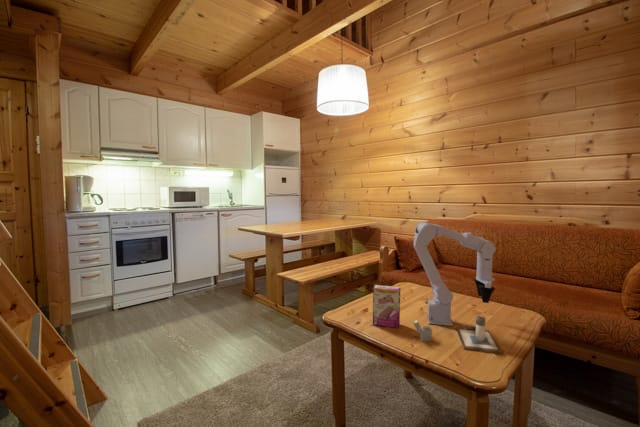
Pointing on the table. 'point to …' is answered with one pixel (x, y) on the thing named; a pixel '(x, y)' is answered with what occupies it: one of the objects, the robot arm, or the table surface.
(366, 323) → the table surface
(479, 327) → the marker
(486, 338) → the picture frame
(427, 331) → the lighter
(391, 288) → the candy bar box
